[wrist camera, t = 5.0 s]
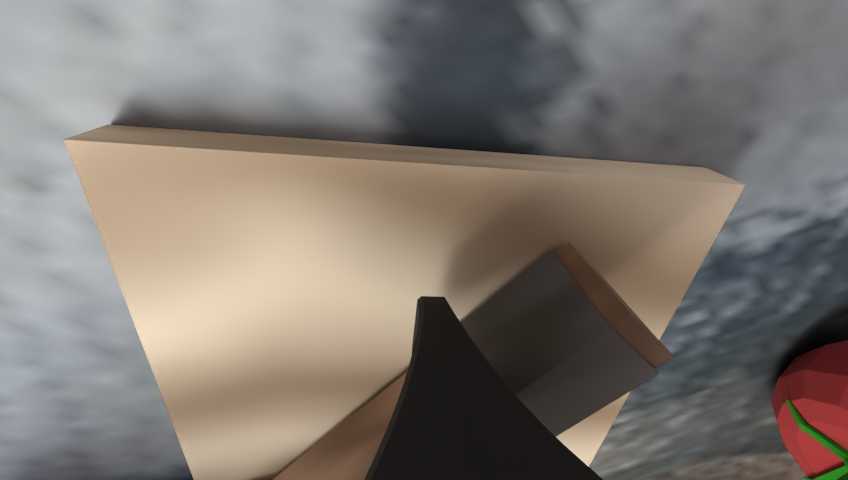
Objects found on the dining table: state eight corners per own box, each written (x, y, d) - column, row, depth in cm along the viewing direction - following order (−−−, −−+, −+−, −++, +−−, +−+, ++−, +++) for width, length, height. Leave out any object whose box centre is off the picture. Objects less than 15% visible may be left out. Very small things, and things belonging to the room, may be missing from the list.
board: (551, 481, 20) (597, 603, 16) (226, 496, 18) (176, 642, 14) (705, 167, 11) (897, 250, 7) (108, 124, 9) (-130, 205, 5)
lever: (284, 525, 17) (264, 627, 14) (219, 505, 15) (181, 613, 13) (613, 288, 11) (690, 374, 9) (555, 227, 10) (622, 306, 7)
